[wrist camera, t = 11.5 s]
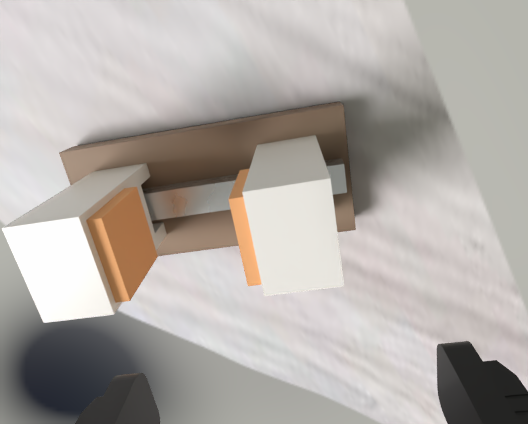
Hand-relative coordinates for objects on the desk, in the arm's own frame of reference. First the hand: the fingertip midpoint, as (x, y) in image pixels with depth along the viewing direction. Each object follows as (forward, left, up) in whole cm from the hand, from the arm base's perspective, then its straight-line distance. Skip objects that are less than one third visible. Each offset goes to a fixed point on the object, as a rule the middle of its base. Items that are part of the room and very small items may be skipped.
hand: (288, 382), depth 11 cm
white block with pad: (0, 0, -19) cm, 19 cm away
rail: (0, -6, -21) cm, 21 cm away
